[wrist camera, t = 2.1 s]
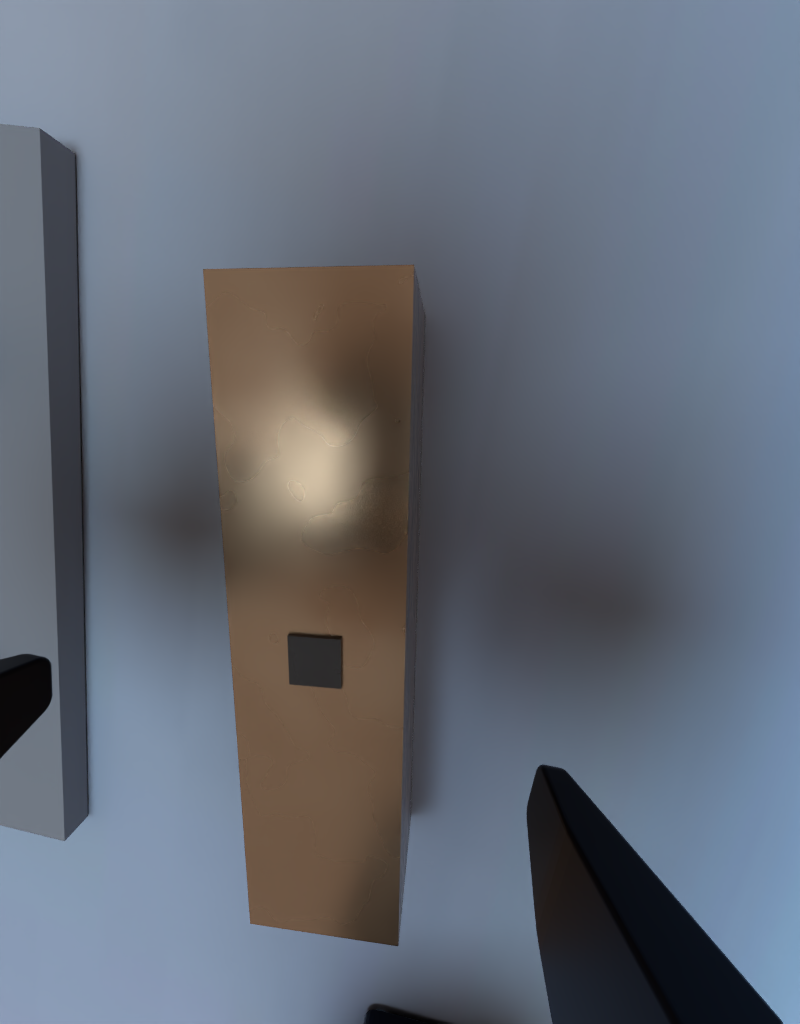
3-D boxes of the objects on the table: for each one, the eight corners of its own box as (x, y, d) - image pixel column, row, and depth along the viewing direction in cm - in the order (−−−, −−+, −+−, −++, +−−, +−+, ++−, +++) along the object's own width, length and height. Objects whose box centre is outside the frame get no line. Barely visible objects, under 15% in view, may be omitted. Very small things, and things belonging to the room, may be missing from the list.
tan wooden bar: (425, 318, 11) (413, 262, 7) (411, 808, 15) (397, 950, 11) (283, 319, 12) (200, 267, 8) (301, 795, 15) (248, 927, 11)
